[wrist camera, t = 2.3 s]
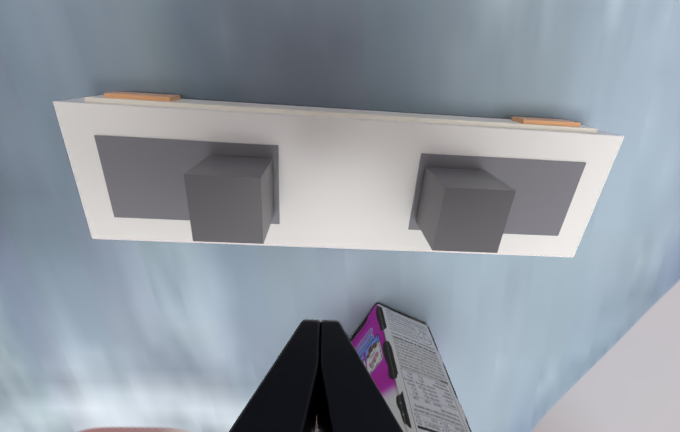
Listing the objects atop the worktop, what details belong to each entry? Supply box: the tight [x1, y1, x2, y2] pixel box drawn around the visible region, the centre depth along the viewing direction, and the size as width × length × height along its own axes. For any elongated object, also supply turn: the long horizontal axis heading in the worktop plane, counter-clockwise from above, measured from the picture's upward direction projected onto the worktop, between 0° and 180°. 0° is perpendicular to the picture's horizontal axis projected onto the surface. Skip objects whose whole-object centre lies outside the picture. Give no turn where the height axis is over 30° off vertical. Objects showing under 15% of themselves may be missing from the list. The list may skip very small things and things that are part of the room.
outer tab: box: [416, 167, 516, 253], centre depth 15 cm, size 3×3×3 cm
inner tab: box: [183, 155, 274, 244], centre depth 15 cm, size 3×3×3 cm
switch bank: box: [53, 91, 625, 257], centre depth 18 cm, size 7×27×3 cm, turn 86°
